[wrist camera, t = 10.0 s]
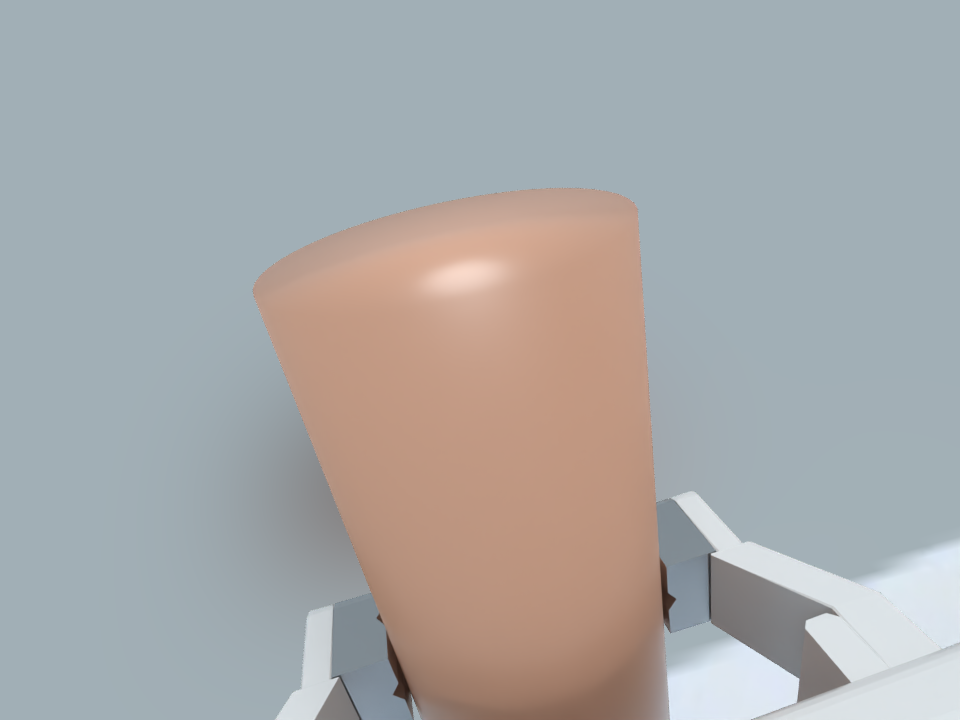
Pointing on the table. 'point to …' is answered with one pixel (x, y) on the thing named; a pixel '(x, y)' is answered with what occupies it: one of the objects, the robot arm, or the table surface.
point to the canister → (490, 445)
